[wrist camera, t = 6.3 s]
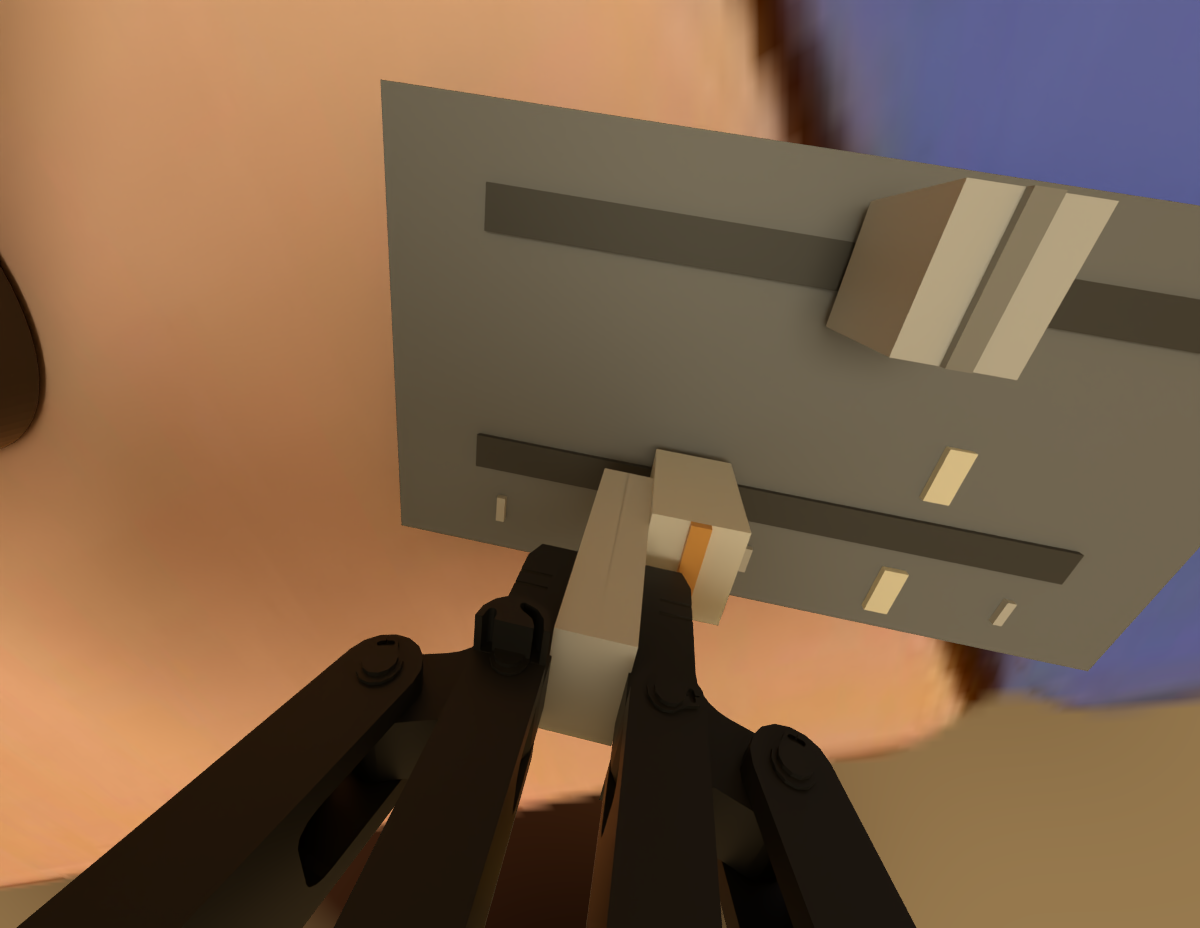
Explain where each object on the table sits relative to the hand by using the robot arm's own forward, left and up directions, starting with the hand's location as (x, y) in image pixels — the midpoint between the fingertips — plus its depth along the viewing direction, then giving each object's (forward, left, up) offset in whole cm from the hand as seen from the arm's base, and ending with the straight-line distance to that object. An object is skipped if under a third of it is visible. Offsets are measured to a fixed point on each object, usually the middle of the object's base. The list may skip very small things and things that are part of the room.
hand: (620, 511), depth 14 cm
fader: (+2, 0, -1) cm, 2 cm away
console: (+5, +3, -4) cm, 7 cm away
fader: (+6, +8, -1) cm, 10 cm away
